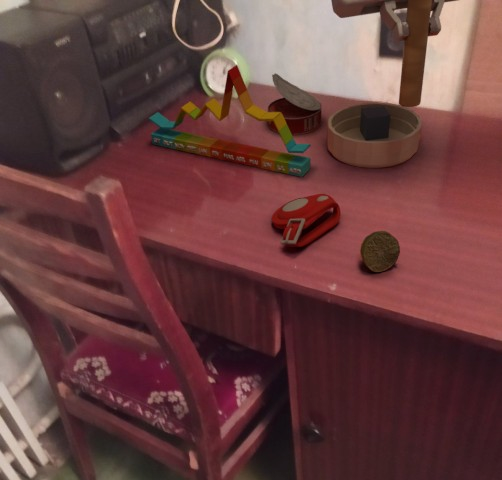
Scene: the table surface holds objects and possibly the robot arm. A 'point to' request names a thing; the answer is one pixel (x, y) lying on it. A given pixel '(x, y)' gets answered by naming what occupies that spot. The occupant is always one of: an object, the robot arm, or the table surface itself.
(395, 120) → the bowl
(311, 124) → the canned food
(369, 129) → the block
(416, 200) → the table surface
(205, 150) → the chart
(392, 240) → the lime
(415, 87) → the stick
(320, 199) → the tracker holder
